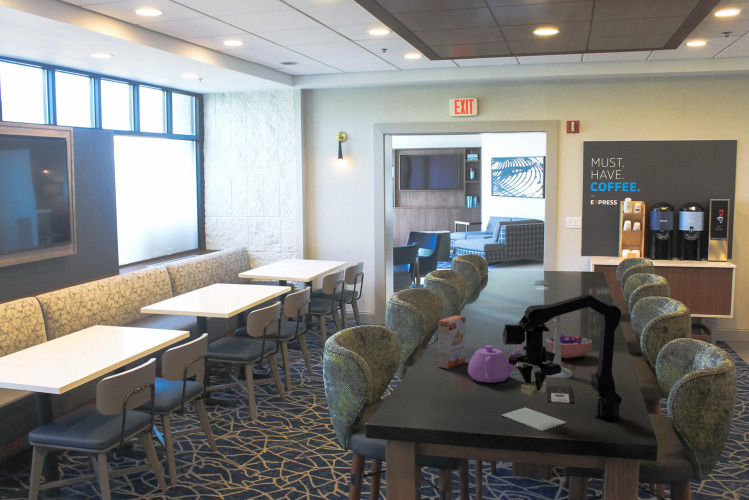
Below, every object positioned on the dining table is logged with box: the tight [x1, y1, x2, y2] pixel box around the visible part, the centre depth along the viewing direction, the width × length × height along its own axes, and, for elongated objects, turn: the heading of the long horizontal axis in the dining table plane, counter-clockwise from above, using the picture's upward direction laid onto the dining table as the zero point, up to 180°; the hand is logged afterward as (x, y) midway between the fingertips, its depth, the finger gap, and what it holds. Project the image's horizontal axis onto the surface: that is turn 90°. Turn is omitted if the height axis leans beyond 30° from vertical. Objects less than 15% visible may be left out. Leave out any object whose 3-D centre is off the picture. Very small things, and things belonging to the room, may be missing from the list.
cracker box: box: [437, 314, 466, 370], centre depth 301 cm, size 14×6×21 cm, turn 143°
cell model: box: [545, 332, 593, 360], centre depth 310 cm, size 17×20×11 cm
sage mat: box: [501, 407, 567, 432], centre depth 235 cm, size 18×12×1 cm, turn 36°
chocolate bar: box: [546, 385, 574, 404], centre depth 260 cm, size 9×1×18 cm
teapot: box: [467, 344, 523, 384], centre depth 280 cm, size 22×22×14 cm
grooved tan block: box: [520, 380, 547, 397], centre depth 234 cm, size 8×4×3 cm, turn 125°
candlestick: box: [545, 315, 573, 380], centre depth 285 cm, size 13×13×30 cm
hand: (533, 388), depth 234 cm, fingers closed on grooved tan block, 4 cm apart
